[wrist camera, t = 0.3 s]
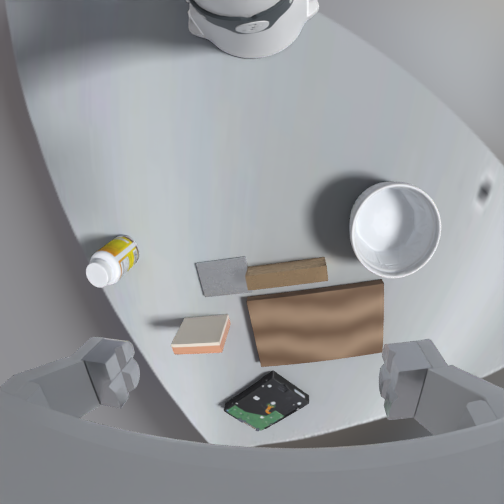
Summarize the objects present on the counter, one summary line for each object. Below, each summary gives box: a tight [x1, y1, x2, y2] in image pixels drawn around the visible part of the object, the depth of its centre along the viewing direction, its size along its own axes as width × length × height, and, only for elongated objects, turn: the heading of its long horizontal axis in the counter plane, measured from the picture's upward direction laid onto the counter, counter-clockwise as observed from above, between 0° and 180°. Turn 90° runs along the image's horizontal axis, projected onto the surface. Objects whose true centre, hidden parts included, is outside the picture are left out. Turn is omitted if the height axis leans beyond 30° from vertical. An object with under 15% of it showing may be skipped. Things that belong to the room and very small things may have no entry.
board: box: [247, 279, 384, 367], centre depth 53 cm, size 14×22×2 cm, turn 101°
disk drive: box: [224, 371, 309, 431], centre depth 61 cm, size 10×3×15 cm
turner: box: [196, 256, 328, 297], centre depth 50 cm, size 20×6×3 cm, turn 101°
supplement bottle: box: [86, 235, 139, 287], centre depth 48 cm, size 6×6×10 cm
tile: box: [171, 314, 230, 354], centre depth 52 cm, size 2×8×8 cm, turn 100°
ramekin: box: [349, 182, 441, 278], centre depth 43 cm, size 13×13×7 cm
